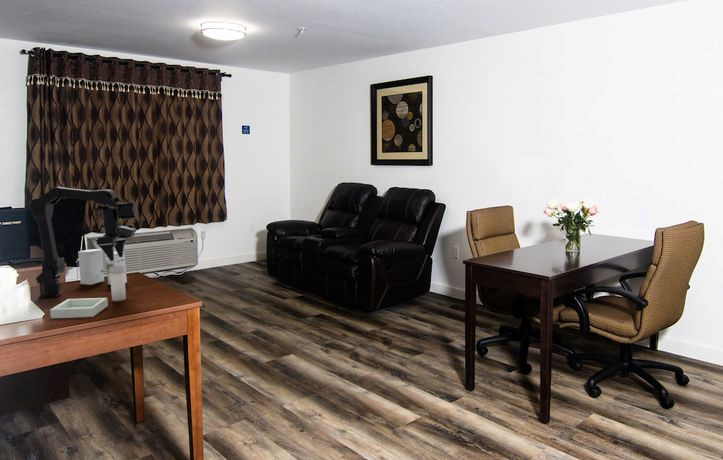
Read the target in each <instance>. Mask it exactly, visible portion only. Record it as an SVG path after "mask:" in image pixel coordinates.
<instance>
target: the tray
mask: <svg viewBox="0 0 723 460" xmlns="http://www.w3.org/2000/svg"><path fill="white" fill-rule="evenodd" d="M108 301H109V300H108V297H95V298H93V297H91V298H90V297H89V298H67V299H66V300H64V301H63V302H61V303H59V304H57V305H56V306H54V307H52V308H51V309H50V310H49V311H50V312H49V313H50V319H69V318H70V319H73V318H93V317H95V316H96V315H98V314H99V313H100V312H102V311H103V310H104V309H106V308H107V307H109V302H108Z"/></svg>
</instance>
